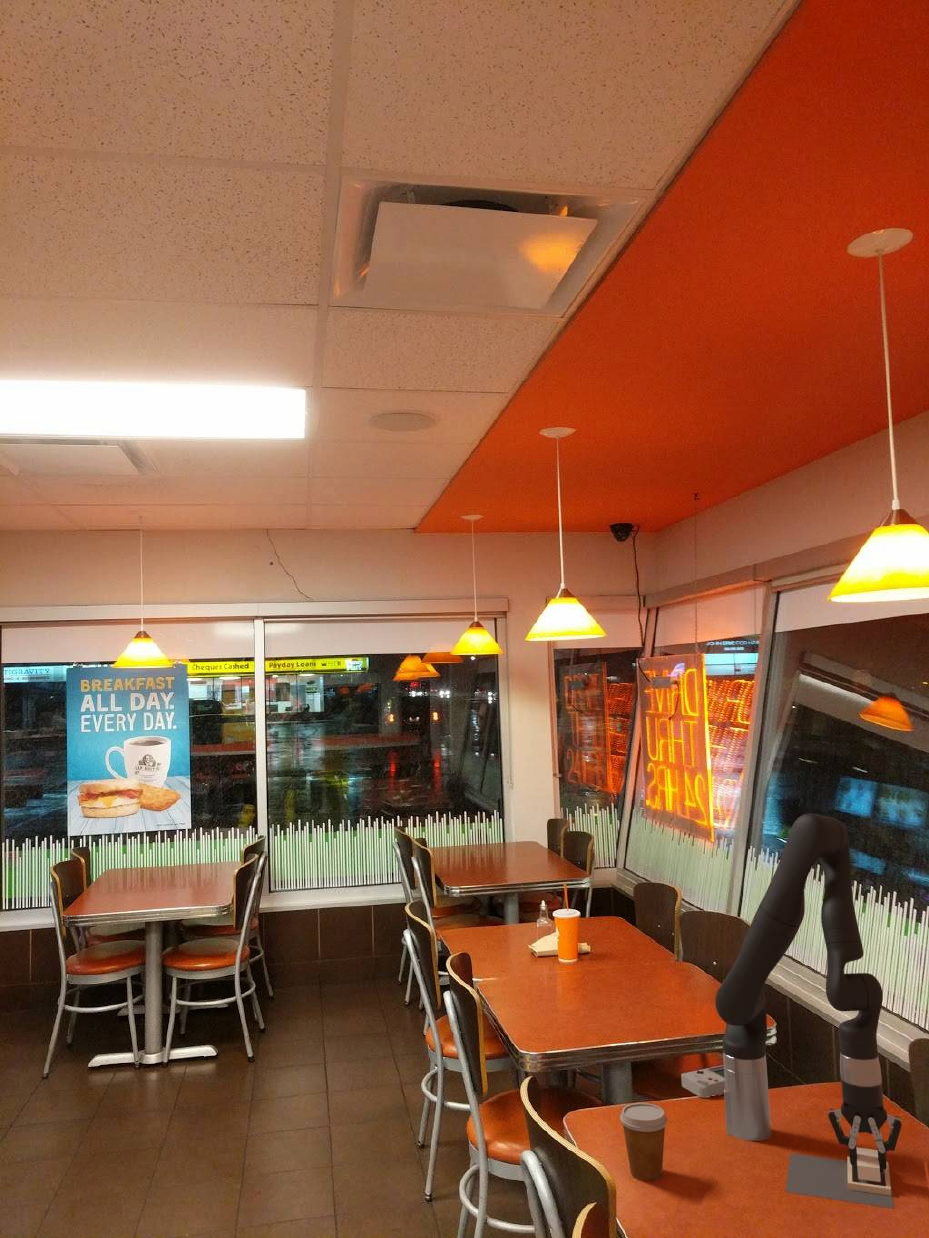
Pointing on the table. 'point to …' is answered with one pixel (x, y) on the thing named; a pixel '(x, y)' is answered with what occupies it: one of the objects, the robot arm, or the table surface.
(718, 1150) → the table surface
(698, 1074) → the handheld gaming device
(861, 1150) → the tile
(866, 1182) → the mat
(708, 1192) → the table surface
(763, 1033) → the robot arm
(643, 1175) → the disposable coffee cup
